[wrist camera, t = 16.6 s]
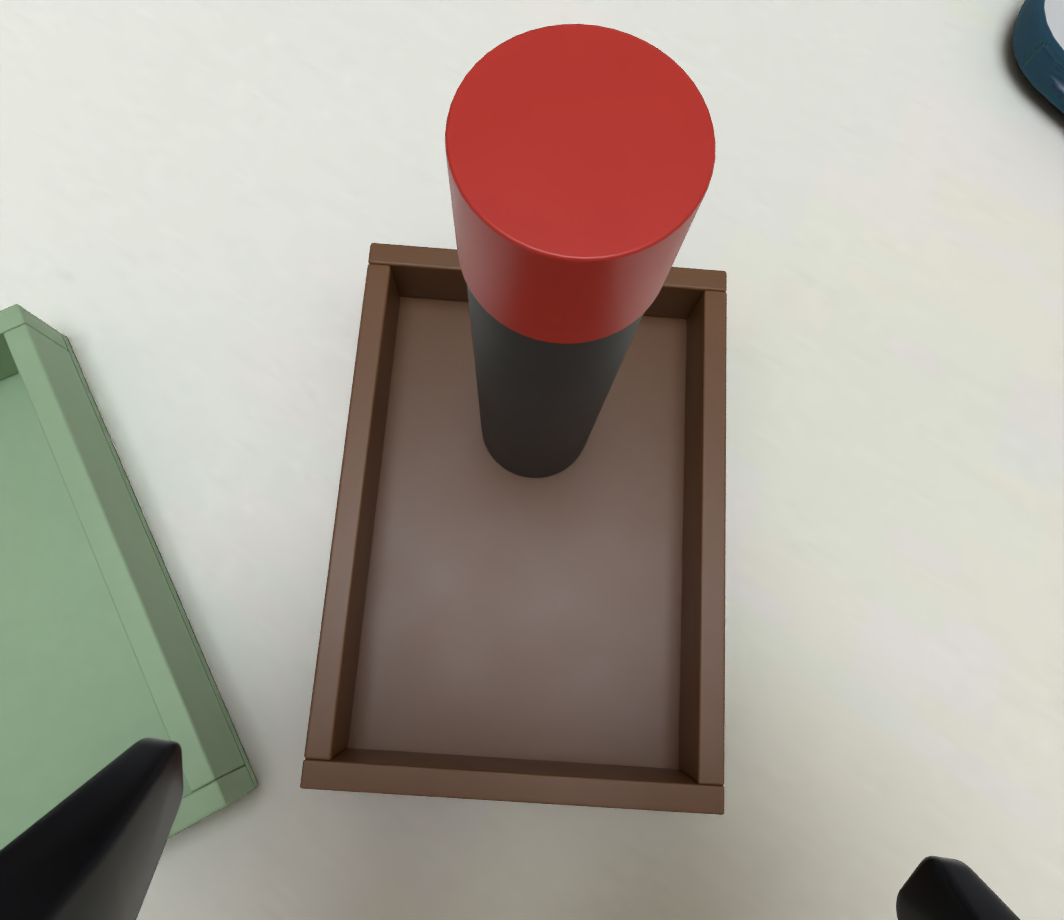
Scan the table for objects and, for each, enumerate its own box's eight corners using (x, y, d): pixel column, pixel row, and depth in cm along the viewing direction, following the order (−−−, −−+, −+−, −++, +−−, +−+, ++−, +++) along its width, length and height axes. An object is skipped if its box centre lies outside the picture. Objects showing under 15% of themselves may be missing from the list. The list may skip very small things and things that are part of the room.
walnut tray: (699, 794, 21) (724, 815, 19) (323, 770, 21) (299, 788, 19) (705, 305, 25) (727, 270, 22) (383, 280, 25) (370, 241, 22)
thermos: (503, 498, 23) (506, 299, 9) (462, 395, 23) (405, 67, 10) (609, 456, 23) (762, 206, 10) (565, 357, 24) (649, -8, 10)
